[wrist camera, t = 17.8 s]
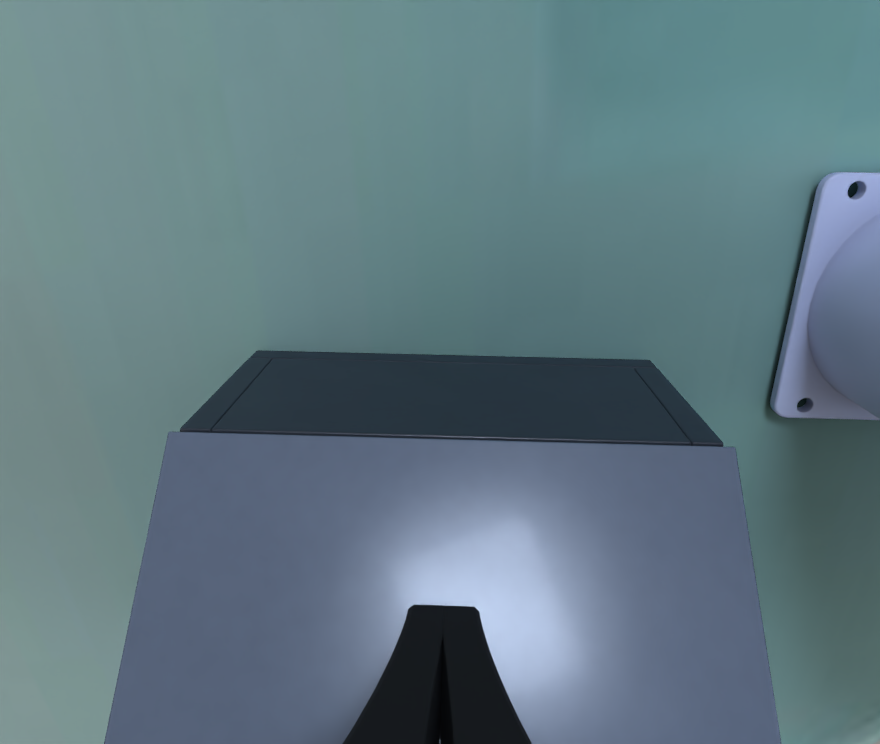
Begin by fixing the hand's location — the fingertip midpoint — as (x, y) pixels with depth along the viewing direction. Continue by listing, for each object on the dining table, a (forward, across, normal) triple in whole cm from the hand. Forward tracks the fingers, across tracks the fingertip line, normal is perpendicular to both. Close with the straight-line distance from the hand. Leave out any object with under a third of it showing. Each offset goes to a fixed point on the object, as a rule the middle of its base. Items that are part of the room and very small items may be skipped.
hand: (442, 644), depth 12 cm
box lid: (0, 0, +2) cm, 2 cm away
